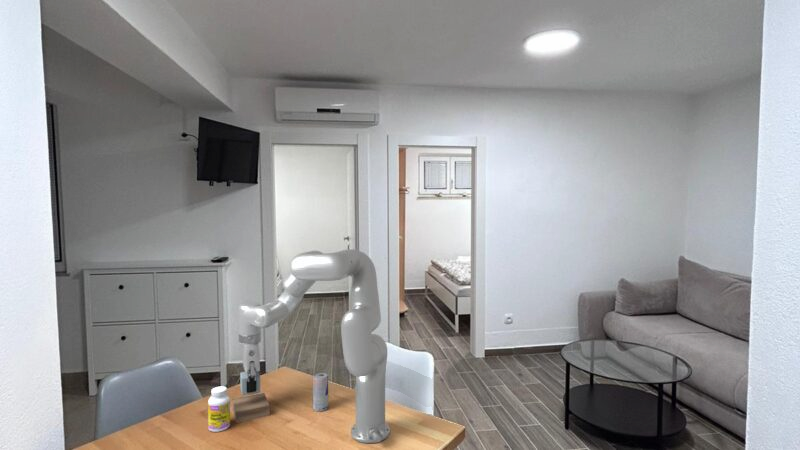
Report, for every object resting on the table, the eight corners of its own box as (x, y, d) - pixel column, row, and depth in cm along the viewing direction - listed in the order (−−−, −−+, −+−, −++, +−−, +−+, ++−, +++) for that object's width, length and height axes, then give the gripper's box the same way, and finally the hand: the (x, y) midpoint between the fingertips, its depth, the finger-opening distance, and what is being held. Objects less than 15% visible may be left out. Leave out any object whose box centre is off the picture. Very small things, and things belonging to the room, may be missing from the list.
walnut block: (269, 416, 144) (269, 405, 144) (236, 424, 139) (235, 412, 139) (264, 403, 154) (264, 392, 154) (232, 410, 149) (232, 399, 149)
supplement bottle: (206, 434, 132) (205, 394, 132) (210, 423, 139) (209, 386, 138) (229, 431, 134) (228, 392, 133) (231, 421, 140) (231, 383, 140)
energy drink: (329, 405, 152) (329, 373, 151) (325, 412, 146) (325, 379, 146) (315, 404, 152) (315, 372, 152) (311, 411, 147) (311, 378, 146)
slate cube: (260, 392, 145) (260, 375, 144) (242, 396, 142) (242, 378, 142) (258, 385, 150) (257, 369, 150) (240, 389, 147) (240, 372, 147)
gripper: (264, 343, 139) (265, 396, 140) (257, 329, 155) (258, 377, 155) (241, 346, 136) (241, 400, 137) (236, 332, 151) (236, 380, 152)
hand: (250, 387), depth 146 cm, fingers closed on slate cube, 6 cm apart
